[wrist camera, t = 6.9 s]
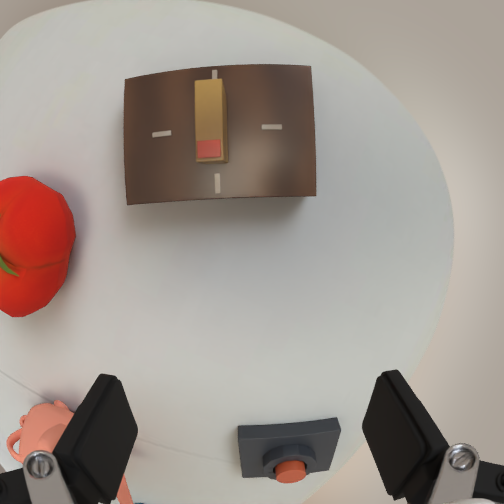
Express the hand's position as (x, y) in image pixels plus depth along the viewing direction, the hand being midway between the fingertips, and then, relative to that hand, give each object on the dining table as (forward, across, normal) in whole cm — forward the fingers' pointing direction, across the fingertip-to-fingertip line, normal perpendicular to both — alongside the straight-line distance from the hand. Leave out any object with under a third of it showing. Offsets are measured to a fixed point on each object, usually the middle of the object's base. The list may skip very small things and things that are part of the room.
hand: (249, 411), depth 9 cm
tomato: (+16, +21, -4) cm, 27 cm away
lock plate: (+16, +2, -11) cm, 20 cm away
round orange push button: (+13, -5, +25) cm, 28 cm away
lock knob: (+13, +2, -11) cm, 17 cm away
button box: (+16, -5, +25) cm, 30 cm away
